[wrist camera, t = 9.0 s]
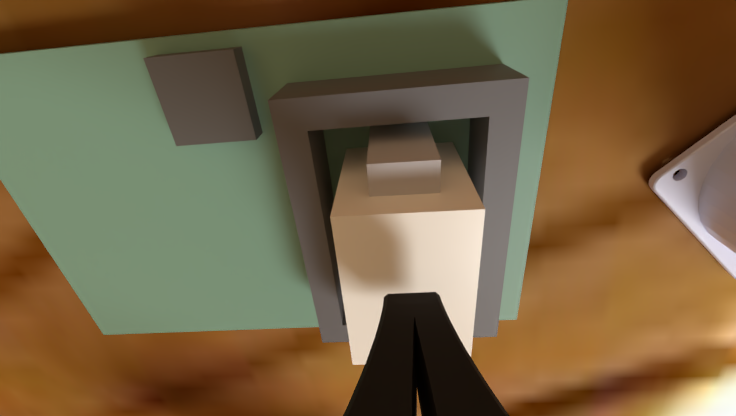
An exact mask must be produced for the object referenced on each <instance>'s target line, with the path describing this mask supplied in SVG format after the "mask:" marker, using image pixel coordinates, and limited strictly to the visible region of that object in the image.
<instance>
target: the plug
mask: <svg viewBox="0 0 736 416" xmlns="http://www.w3.org/2000/svg"><path fill="white" fill-rule="evenodd" d="M484 218H485V207H484V205H483V203H482V201H481V199H480V197H479V195H478V193H477V191H476V189H475V187H474V185H473V183H472V181H471V179H470V177H469V175H468V173H467V171H466V169H465V167H464V165H463V163H462V161H461V159H460V156H459V154H458V152H457V150H456V148H455V146H454V144H453V142H444V143H435V142H434V139H433V136H432V134H431V131H430V128H429V125H428V123H427V122H415V123H402V124H390V125H377V126H370V133H369V143H368V147H364V148H348V149H346V153H345V157H344V161H343V165H342V170H341V174H340V178H339V182H338V186H337V190H336V194H335V199H334V203H333V207H332V211H331V215H330V219H331V226H332V232H333V239H334V245H335V252H336V258H337V265H338V271H339V278H340V284H341V291H342V297H343V304H344V310H345V317H346V323H347V330H348V336H349V343H350V349H351V356H352V363H353V365H359V364H366V361H367V358H368V355H369V352H370V350H371V347H372V344H373V341H374V338H375V335H376V332H377V328H378V325H379V321H380V317H381V313H382V308H383V301H384V297H385V296H386V295H387V294H395V293H420V292H436V293H437V294H439V295H440V298H441V301H442V303H443V306H444V308H445V310H446V312H447V315H448V317H449V319H450V321H451V323H452V325H453V327H454V329H455V330H456V332H457V334H458V336H459V338H460V340H461V342H462V343H463V345H464V347H465V349H466V350H467V352H468V354H469V355H470V357H471V351H472V341H473V331H474V320H475V310H476V300H477V290H478V280H479V269H480V259H481V249H482V239H483V228H484Z"/></svg>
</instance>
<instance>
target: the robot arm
mask: <svg viewBox="0 0 736 416" xmlns="http://www.w3.org/2000/svg"><path fill="white" fill-rule="evenodd" d="M679 169H680V171H679V172H678V173H677V174H676V175H674V176H673V174H674V173H675V172H676V171H677V170H679ZM649 186H650V188H651V189H652V190H653V191H654V193H655V194H656V195H657V196H658V197H659V198H660V199H661V200H662V201H663V202H664V203H665V205H666V206H667V207H668V208H669V209H670V210H671V211H672V212H673V213H674V214H675V215H676V217H677V218H678V219H679V220H680V221H681V222H682V223H683V224H684V225H685V226H686V227H687V229H688V230H689V231H690V232H691V233H692V234H693V235H694V236H695V237H696V238H697V239H698V241H699V242H700V243H701V244H702V245H703V246H704V247H705V248H706V249H707V250H708V251H709V253H710V254H711V255H712V256H713V257H714V258H715V259H716V260H717V261H718V262H719V263H720V265H721V266H722V267H723V268H724V269H725V270H726V271H727V272H728V273H729V274H730V275H731V276H732V277H734V278H735V279H736V115H734V116H733V117H732V118H730V119H729V120H727V121H726V122H725V123H723V124H722V125H720V126H719V127H718V128H716V129H715V130H713V131H712V132H711V133H709V134H708V135H707V136H705V137H704V138H702V139H701V140H700V141H698V142H697V143H695V144H694V145H693V146H691V147H690V148H689V149H687V150H686V151H684V152H683V153H682V154H680V155H679V156H677V157H676V158H675V159H673V160H672V161H670V162H669V163H668V164H666V165H665V166H664V167H662V168H661V169H659V170H658V171H657V172H655V173H654V174H653V175H652V176H651V178H650V180H649ZM417 390H418V396H419V402H420V408H421V414H422V416H509V415H508V413H507V412H506V411H505V409H504V408H503V406H502V405H501V403H500V402H499V400H498V399H497V397H496V396H495V395H494V393H493V392H492V390H491V389H490V387H489V386H488V384H487V383H486V381H485V380H484V378H483V376H482V375H481V373H480V372H479V370H478V368H477V367H476V365H475V364H474V362H473V360H472V359H471V357H470V355H469V354H468V352H467V350H466V349H465V347H464V345H463V343H462V342H461V340H460V338H459V336H458V334H457V332H456V330H455V329H454V327H453V325H452V323H451V321H450V319H449V317H448V315H447V312H446V310H445V308H444V306H443V303H442V301H441V298H440V295H439V294H437V293H436V292H420V293H395V294H387V295H386V296H385V297H384V301H383V308H382V313H381V317H380V321H379V325H378V328H377V332H376V335H375V338H374V341H373V344H372V347H371V350H370V352H369V355H368V358H367V361H366V364H365V366H364V369H363V371H362V374H361V376H360V379H359V381H358V383H357V386H356V388H355V390H354V393H353V395H352V397H351V400H350V402H349V404H348V406H347V409H346V411H345V413H344V415H343V416H417Z"/></svg>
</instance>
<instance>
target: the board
mask: <svg viewBox="0 0 736 416" xmlns="http://www.w3.org/2000/svg"><path fill="white" fill-rule="evenodd" d="M567 4H568V0H513V1H504V2H494V3H484V4H475V5H465V6H455V7H445V8H436V9H426V10H416V11H407V12H397V13H387V14H377V15H368V16H358V17H348V18H339V19H329V20H319V21H309V22H300V23H290V24H280V25H271V26H261V27H251V28H241V29H232V30H222V31H212V32H203V33H193V34H183V35H173V36H164V37H154V38H144V39H135V40H125V41H115V42H105V43H96V44H86V45H76V46H67V47H57V48H47V49H38V50H28V51H18V52H8V53H0V180H1V181H2V183H3V184H4V186H5V187H6V189H7V190H8V192H9V193H10V195H11V196H12V198H13V199H14V201H15V202H16V204H17V205H18V207H19V208H20V210H21V211H22V213H23V214H24V216H25V217H26V219H27V220H28V222H29V223H30V225H31V226H32V228H33V229H34V231H35V232H36V234H37V235H38V237H39V238H40V240H41V241H42V243H43V244H44V246H45V247H46V249H47V250H48V252H49V253H50V255H51V256H52V258H53V259H54V261H55V262H56V264H57V265H58V267H59V268H60V270H61V271H62V273H63V274H64V276H65V277H66V279H67V280H68V282H69V283H70V285H71V286H72V288H73V289H74V291H75V292H76V294H77V295H78V297H79V298H80V300H81V301H82V303H83V304H84V306H85V307H86V309H87V310H88V312H89V313H90V315H91V317H92V318H93V320H94V321H95V323H96V324H97V326H98V327H99V329H100V330H101V332H102V333H103V335H113V334H139V333H166V332H193V331H220V330H247V329H274V328H301V327H319V328H320V333H321V337H322V342H349V336H348V330H347V323H346V317H345V310H344V304H343V297H342V291H341V284H340V278H339V271H338V265H337V258H336V252H335V245H334V239H333V232H332V226H331V219H330V215H331V211H332V207H333V203H334V199H335V194H336V190H337V186H338V182H339V178H340V174H341V170H342V165H343V161H344V157H345V153H346V149H348V148H364V147H368V143H369V133H370V126H377V125H390V124H402V123H415V122H427V123H428V125H429V128H430V131H431V134H432V136H433V139H434V142H435V143H444V142H453V144H454V146H455V148H456V150H457V152H458V154H459V156H460V159H461V161H462V163H463V165H464V167H465V169H466V171H467V173H468V175H469V177H470V179H471V181H472V183H473V185H474V187H475V189H476V191H477V193H478V195H479V197H480V199H481V201H482V203H483V205H484V207H485V218H484V228H483V239H482V249H481V259H480V269H479V280H478V290H477V300H476V310H475V320H474V331H473V337H497V331H498V323H499V320H516V319H517V314H518V308H519V302H520V296H521V289H522V283H523V277H524V271H525V265H526V258H527V252H528V246H529V240H530V234H531V227H532V221H533V215H534V209H535V202H536V196H537V190H538V184H539V178H540V171H541V165H542V159H543V153H544V147H545V140H546V134H547V128H548V122H549V116H550V109H551V103H552V97H553V91H554V84H555V78H556V72H557V66H558V60H559V53H560V47H561V41H562V35H563V29H564V22H565V16H566V10H567Z"/></svg>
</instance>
